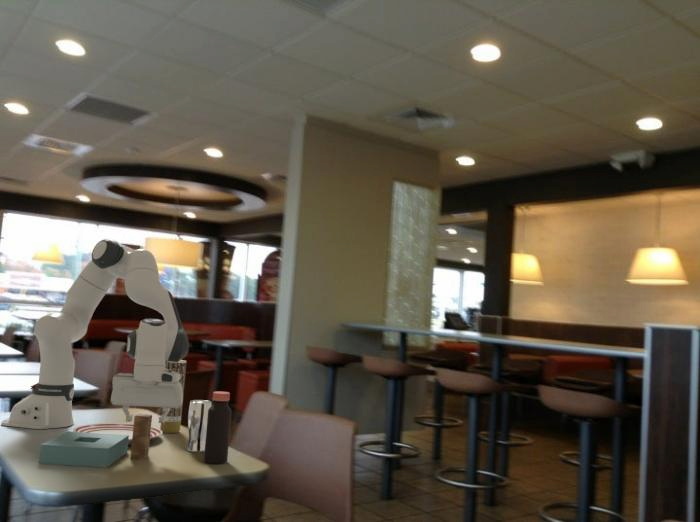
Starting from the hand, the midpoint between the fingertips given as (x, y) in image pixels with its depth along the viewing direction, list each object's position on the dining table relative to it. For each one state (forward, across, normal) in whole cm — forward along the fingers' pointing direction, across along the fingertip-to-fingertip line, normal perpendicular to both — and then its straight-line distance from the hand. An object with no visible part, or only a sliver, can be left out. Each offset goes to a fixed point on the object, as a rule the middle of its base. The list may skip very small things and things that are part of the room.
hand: (145, 421), depth 179 cm
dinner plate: (+10, -14, +22) cm, 28 cm away
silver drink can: (+10, +13, +13) cm, 21 cm away
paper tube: (+10, 0, +38) cm, 39 cm away
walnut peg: (+10, -1, 0) cm, 10 cm away
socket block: (+10, -15, -4) cm, 18 cm away
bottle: (+11, +21, 0) cm, 24 cm away
